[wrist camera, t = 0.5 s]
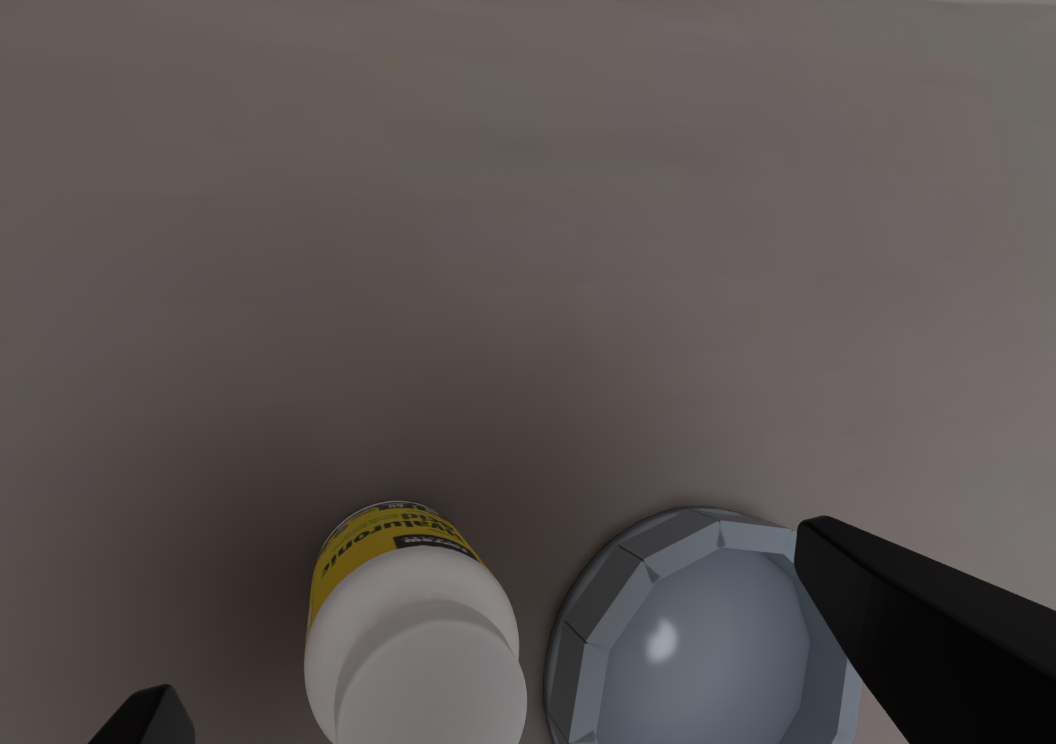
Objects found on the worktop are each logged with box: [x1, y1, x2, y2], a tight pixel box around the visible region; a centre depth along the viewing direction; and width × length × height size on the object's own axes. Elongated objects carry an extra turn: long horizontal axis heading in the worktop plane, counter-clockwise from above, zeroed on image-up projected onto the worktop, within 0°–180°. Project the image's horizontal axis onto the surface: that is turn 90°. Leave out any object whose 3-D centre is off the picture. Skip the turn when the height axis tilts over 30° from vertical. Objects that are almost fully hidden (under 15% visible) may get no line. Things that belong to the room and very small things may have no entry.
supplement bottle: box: [304, 501, 527, 744], centre depth 17 cm, size 5×5×10 cm
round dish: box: [544, 506, 863, 744], centre depth 24 cm, size 13×13×3 cm
